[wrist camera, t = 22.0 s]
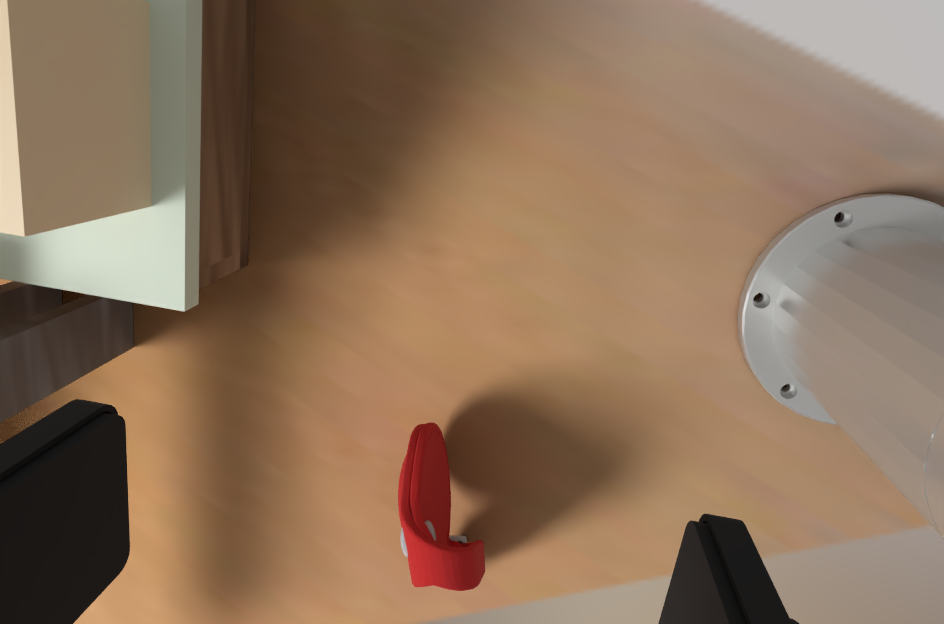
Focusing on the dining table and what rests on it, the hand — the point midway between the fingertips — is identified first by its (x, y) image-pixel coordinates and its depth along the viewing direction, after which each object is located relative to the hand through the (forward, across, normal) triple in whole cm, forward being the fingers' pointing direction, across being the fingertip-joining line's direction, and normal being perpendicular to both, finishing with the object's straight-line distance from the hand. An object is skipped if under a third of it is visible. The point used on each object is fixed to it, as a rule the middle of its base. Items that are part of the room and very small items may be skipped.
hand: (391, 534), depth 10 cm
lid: (+18, +21, -5) cm, 28 cm away
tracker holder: (+27, 0, +16) cm, 31 cm away
